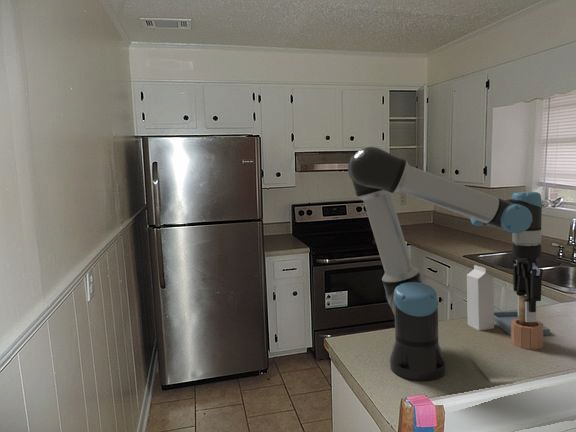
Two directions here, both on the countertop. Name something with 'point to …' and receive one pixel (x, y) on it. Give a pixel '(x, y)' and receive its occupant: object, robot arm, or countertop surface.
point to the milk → (480, 299)
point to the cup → (527, 335)
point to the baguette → (523, 313)
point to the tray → (505, 319)
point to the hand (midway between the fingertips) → (526, 318)
